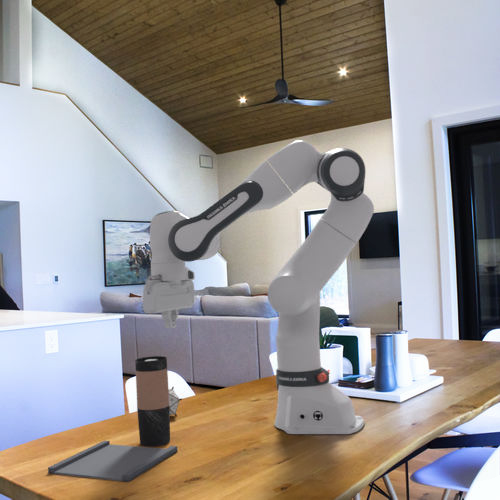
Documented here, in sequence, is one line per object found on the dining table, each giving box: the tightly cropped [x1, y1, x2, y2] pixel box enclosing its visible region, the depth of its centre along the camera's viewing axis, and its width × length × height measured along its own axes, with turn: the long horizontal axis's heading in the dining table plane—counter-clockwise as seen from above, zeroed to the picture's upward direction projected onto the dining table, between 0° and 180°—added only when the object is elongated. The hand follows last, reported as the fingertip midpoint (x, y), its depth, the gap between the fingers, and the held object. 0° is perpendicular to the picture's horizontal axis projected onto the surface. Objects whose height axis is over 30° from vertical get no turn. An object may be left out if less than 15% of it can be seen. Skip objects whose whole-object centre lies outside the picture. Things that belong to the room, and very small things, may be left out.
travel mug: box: [134, 355, 171, 448], centre depth 139 cm, size 8×8×20 cm
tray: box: [47, 440, 178, 483], centre depth 126 cm, size 20×19×1 cm
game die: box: [168, 386, 183, 417], centre depth 163 cm, size 9×8×10 cm
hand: (170, 328), depth 149 cm, fingers closed
